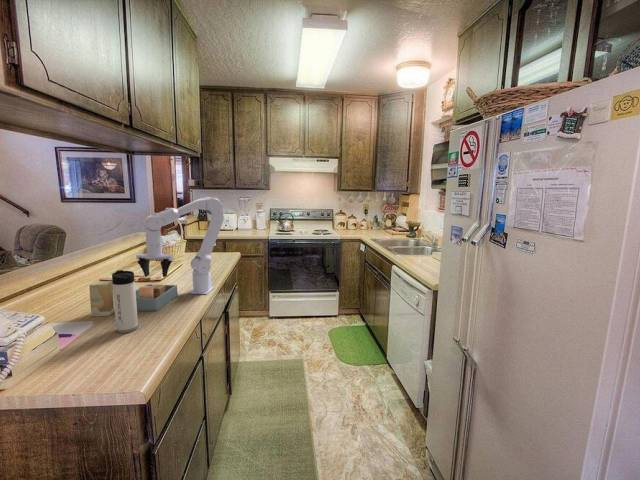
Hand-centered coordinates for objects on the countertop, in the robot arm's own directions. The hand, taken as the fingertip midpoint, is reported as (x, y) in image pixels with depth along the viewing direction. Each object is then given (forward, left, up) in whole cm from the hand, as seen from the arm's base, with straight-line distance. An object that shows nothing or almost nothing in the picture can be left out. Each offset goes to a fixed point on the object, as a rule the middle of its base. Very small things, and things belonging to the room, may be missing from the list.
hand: (156, 276), depth 129 cm
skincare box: (+17, -12, -10) cm, 23 cm away
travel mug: (+28, +4, -10) cm, 30 cm away
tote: (+4, 0, -10) cm, 11 cm away
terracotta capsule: (+8, 0, -10) cm, 12 cm away
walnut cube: (0, 0, -10) cm, 10 cm away
